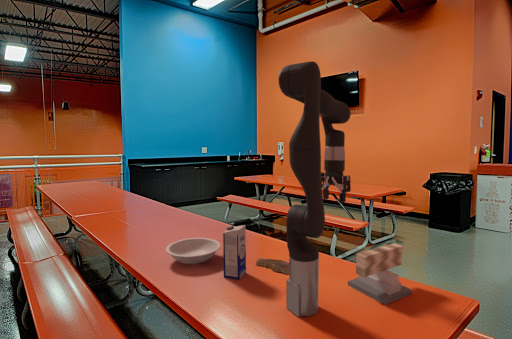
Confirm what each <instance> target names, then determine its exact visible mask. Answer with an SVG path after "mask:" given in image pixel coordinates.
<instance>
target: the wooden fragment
mask: <svg viewBox="0 0 512 339" xmlns="http://www.w3.org/2000/svg"><path fill="white" fill-rule="evenodd" d="M255 265H256V266H261V267H265V268H269V269H270V270H272V271H273V272H277V273H281V274H284V275H288V276H289V261H286V260H282V259H272V258H271V259H270V258H264V257H263V258H262V257H258V259H257V260H256V262H255Z"/></svg>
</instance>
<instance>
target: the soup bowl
mask: <svg viewBox="0 0 512 339" xmlns="http://www.w3.org/2000/svg"><path fill="white" fill-rule="evenodd" d="M221 247H222V244H221V243H220V241H218V240H216V239H213V238H209V237H208V238H207V237H190V238H189V237H188V238H183V239H180V240H176V241H174V242H171V243H170V244H168V245H167V246H166V247H165V252H166V253H167V254H168V255H170V256H171V258H172V259H173V260H175V261H176V262H178V263H181V264H184V265H185V264H186V265H196V264H201V263H204V262H207V261H208V260H210V259H211V258H213V257H214V255H215V254H216V252H218V251H220V249H221Z"/></svg>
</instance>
